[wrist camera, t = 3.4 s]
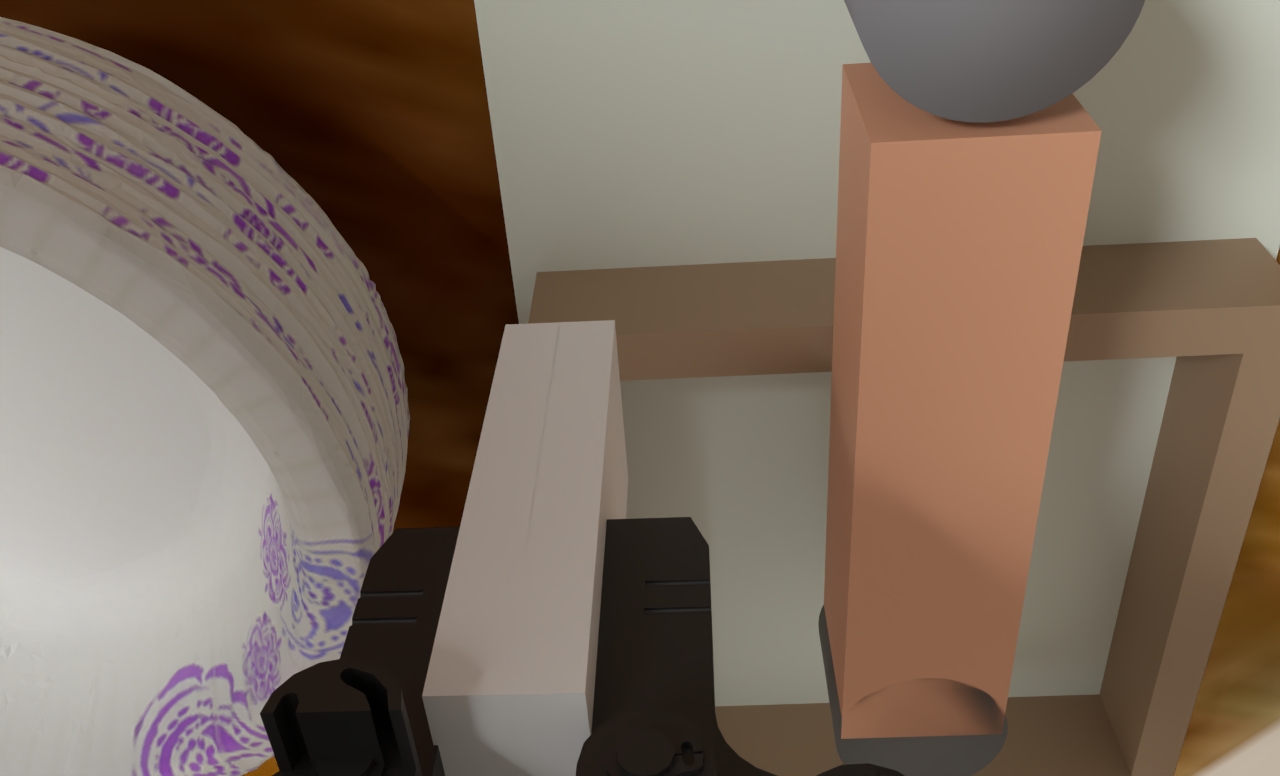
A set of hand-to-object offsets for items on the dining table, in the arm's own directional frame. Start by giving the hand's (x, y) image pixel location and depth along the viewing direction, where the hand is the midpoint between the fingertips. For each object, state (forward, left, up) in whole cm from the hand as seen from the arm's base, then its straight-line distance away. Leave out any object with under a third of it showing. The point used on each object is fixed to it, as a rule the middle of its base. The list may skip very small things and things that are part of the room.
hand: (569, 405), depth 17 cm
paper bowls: (-11, -3, -9) cm, 14 cm away
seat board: (+6, -4, -8) cm, 11 cm away
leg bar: (+6, -2, -4) cm, 7 cm away
